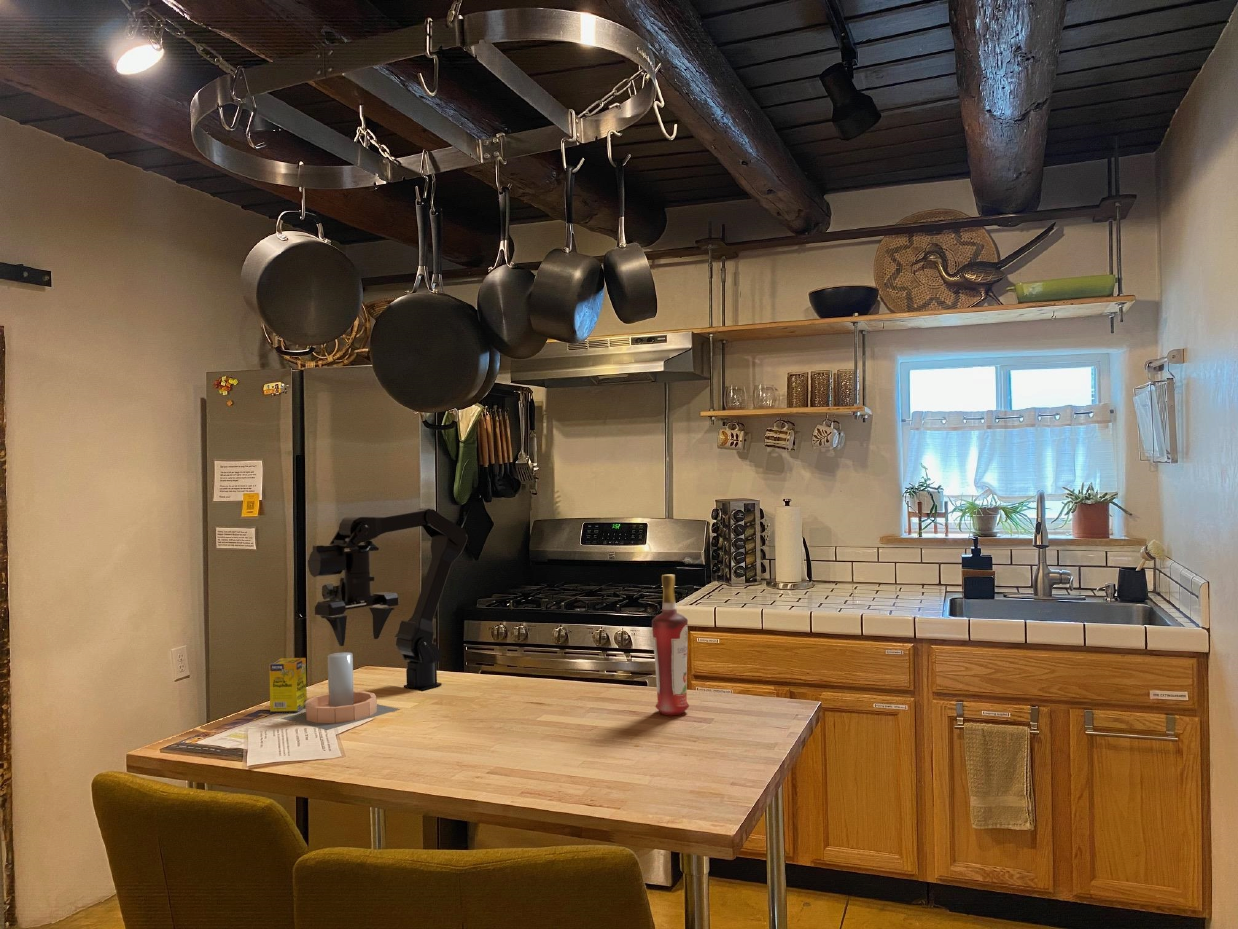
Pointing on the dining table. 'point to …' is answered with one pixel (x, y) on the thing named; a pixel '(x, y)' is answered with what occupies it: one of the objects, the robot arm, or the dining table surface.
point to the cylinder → (340, 679)
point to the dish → (340, 708)
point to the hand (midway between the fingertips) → (359, 642)
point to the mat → (302, 719)
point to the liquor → (670, 653)
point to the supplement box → (287, 685)
